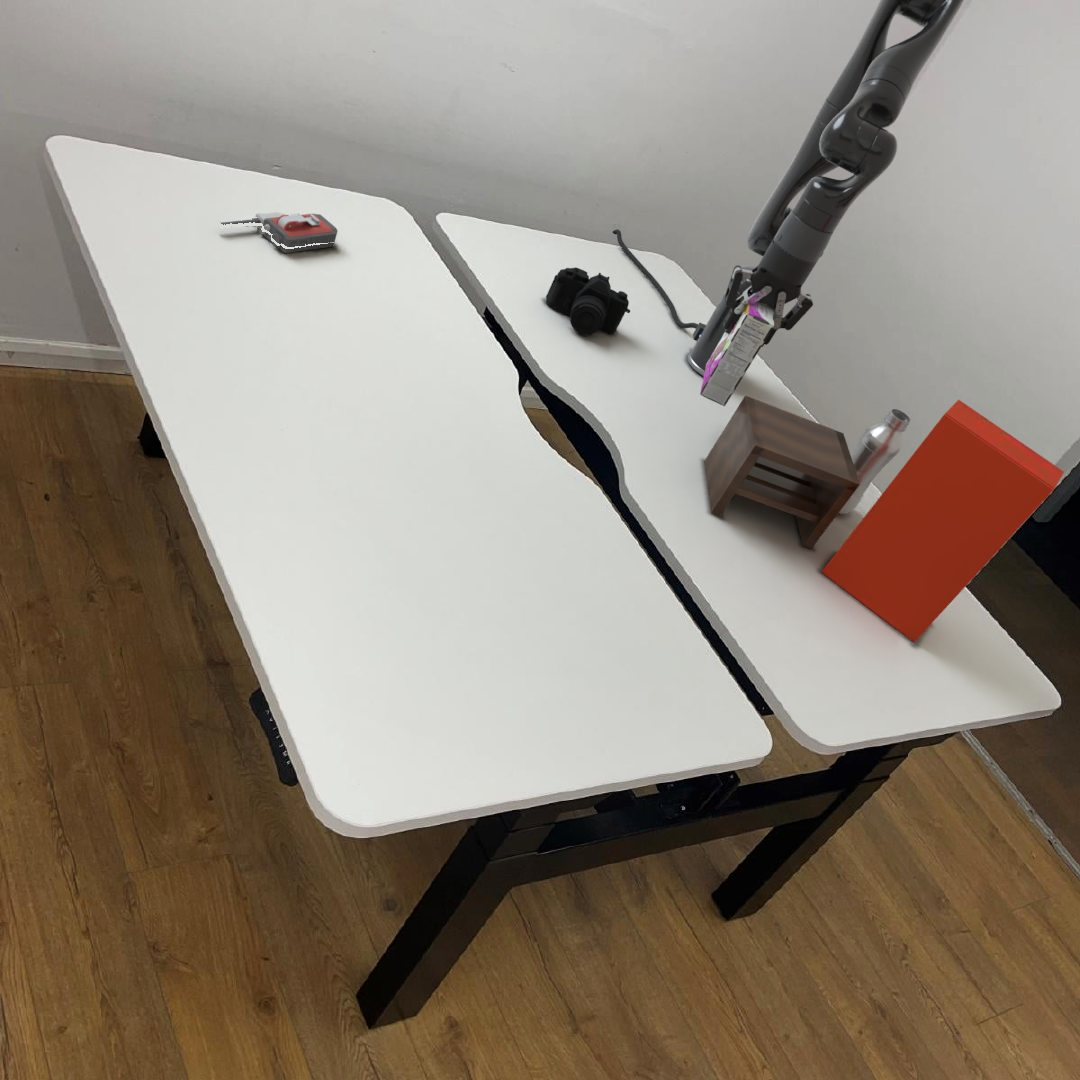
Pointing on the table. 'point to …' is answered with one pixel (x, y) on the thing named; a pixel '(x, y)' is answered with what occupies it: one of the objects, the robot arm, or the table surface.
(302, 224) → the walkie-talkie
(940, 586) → the file binder
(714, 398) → the candy bar box
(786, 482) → the shoe rack
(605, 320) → the film camera
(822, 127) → the robot arm
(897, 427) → the silver metal bottle
